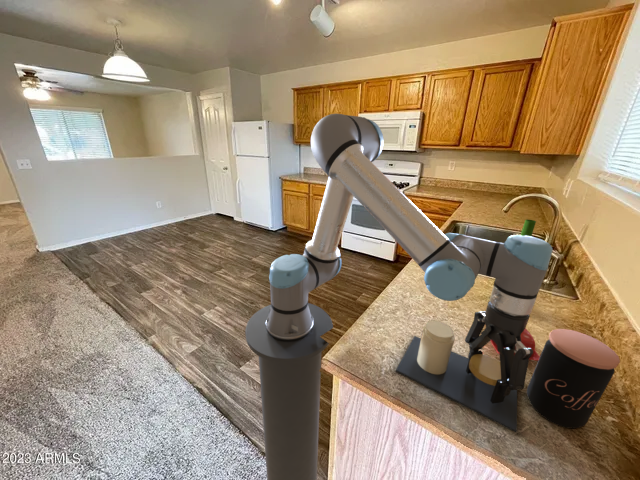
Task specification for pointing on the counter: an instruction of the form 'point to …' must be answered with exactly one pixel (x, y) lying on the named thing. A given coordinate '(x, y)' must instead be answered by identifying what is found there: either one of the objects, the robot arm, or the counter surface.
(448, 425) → the counter surface
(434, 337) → the cream-colored jar
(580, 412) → the coffee jar
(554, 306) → the counter surface
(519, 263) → the robot arm
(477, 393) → the mat
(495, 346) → the butter dish
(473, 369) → the lid
